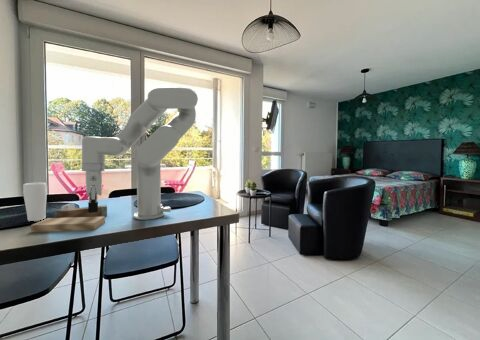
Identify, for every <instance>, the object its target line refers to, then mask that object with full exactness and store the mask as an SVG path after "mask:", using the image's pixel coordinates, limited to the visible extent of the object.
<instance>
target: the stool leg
mask: <svg viewBox="0 0 480 340" xmlns="http://www.w3.org/2000/svg"><path fill="white" fill-rule="evenodd" d="M53 212H54V218H71V217H104V216H105V217H107V216H108V206H107V204H105V205H98V212H92V213H89V212H88V206H86V207H77V208H76V207H75V208H74V209H65V210H64V209H62V208H61V209H59V208H58V209H55V210H53Z"/></svg>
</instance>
